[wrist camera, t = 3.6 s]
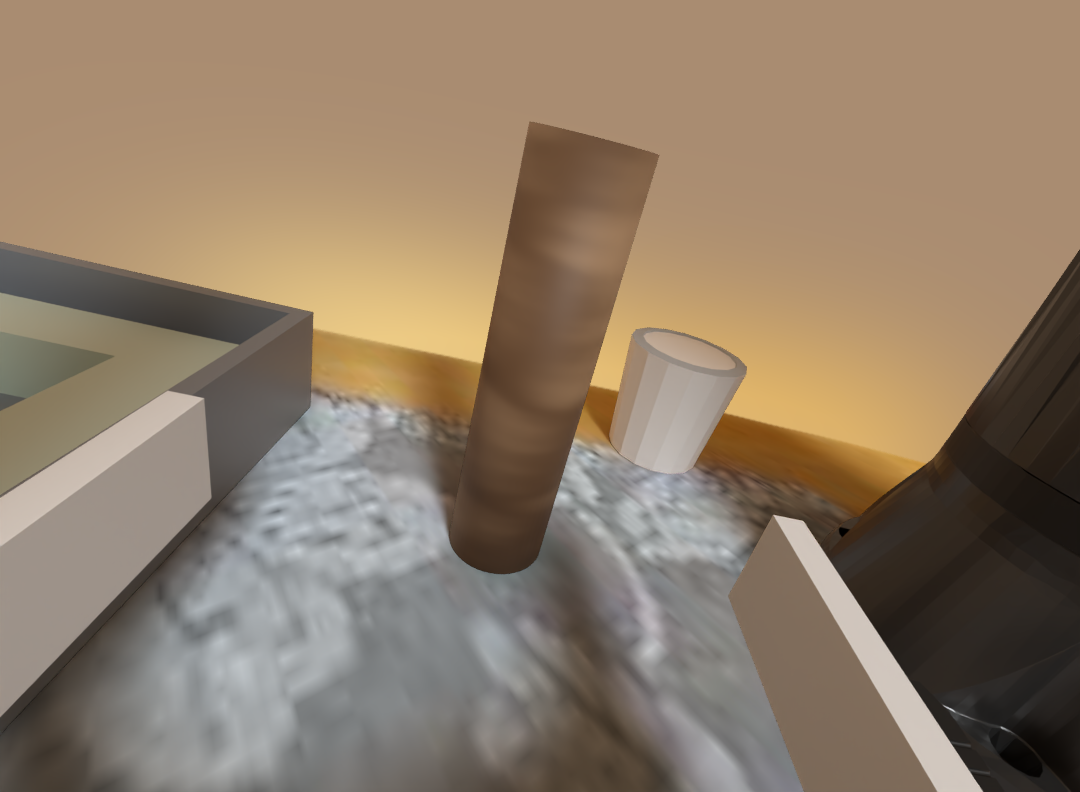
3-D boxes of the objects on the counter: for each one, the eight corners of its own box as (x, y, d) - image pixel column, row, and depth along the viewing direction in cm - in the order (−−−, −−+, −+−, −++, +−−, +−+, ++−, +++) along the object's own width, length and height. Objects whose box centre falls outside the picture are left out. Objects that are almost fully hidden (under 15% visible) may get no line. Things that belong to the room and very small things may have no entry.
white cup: (578, 425, 33) (609, 325, 30) (650, 414, 37) (684, 325, 34) (652, 490, 28) (697, 379, 25) (725, 469, 32) (771, 371, 29)
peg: (541, 517, 24) (647, 154, 17) (538, 582, 21) (671, 156, 14) (458, 500, 24) (532, 124, 17) (440, 563, 20) (525, 118, 13)
